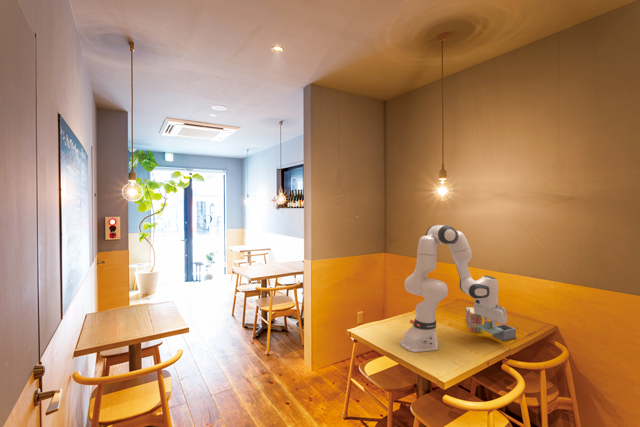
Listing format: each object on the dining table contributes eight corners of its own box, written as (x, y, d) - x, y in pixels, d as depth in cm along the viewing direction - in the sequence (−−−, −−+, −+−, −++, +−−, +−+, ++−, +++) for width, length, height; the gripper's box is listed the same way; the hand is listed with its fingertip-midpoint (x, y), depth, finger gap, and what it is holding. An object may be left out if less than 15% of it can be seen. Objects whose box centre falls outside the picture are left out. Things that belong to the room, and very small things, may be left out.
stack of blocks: (465, 320, 221) (465, 302, 220) (475, 320, 219) (475, 303, 219) (471, 331, 200) (471, 312, 200) (481, 332, 198) (481, 313, 198)
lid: (502, 333, 184) (502, 324, 183) (492, 335, 180) (492, 326, 180) (487, 326, 193) (487, 318, 193) (477, 328, 190) (477, 320, 190)
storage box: (504, 341, 186) (504, 331, 186) (492, 336, 193) (492, 326, 193) (515, 338, 189) (515, 328, 189) (503, 333, 197) (503, 324, 197)
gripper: (509, 307, 178) (509, 331, 178) (479, 297, 197) (479, 319, 197) (502, 309, 175) (501, 333, 176) (472, 299, 194) (472, 320, 195)
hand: (489, 325), depth 187 cm, fingers closed on lid, 3 cm apart
